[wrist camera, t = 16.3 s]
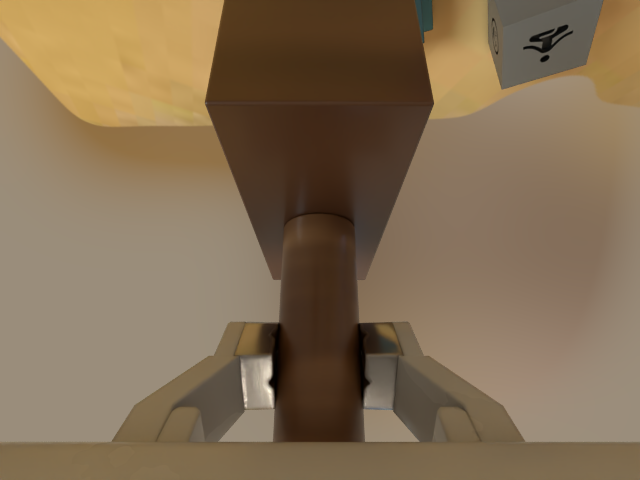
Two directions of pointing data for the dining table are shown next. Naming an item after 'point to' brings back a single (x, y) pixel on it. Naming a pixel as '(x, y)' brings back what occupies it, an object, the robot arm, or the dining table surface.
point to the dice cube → (539, 37)
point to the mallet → (319, 175)
